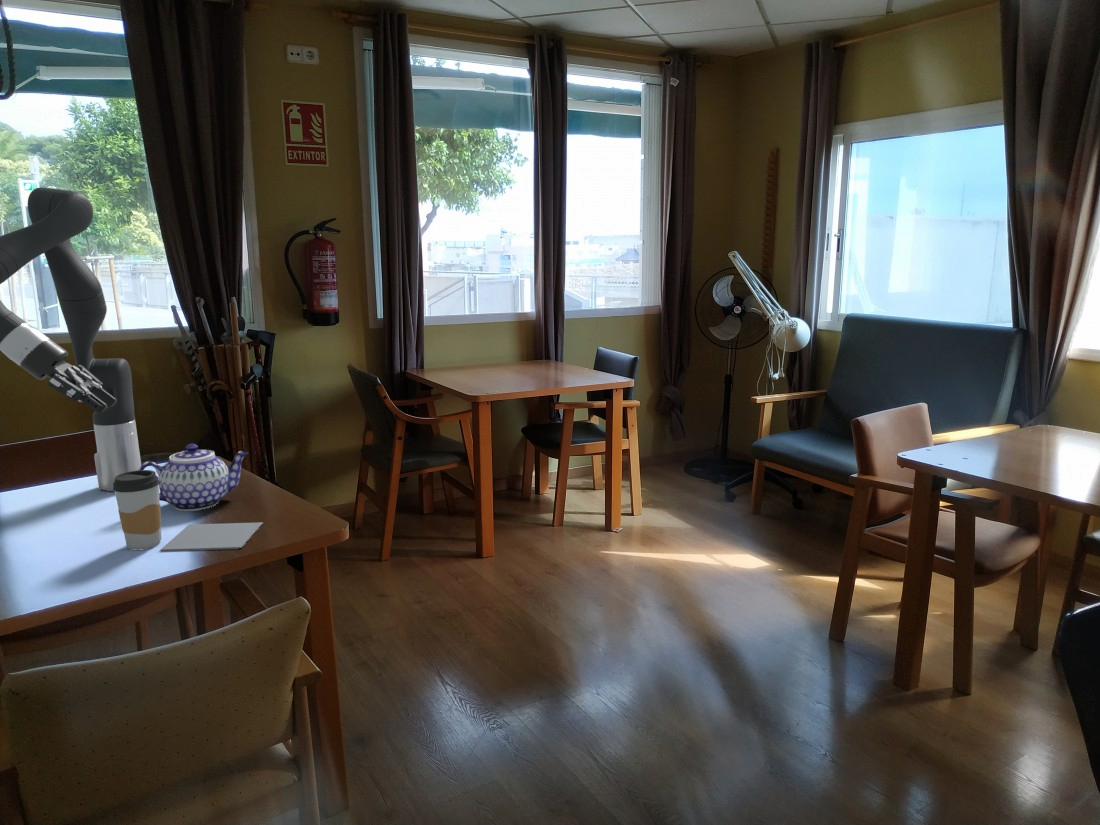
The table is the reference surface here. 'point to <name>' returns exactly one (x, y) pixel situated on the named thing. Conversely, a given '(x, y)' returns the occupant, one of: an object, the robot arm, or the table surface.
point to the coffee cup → (139, 508)
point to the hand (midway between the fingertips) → (108, 406)
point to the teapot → (196, 478)
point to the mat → (212, 536)
